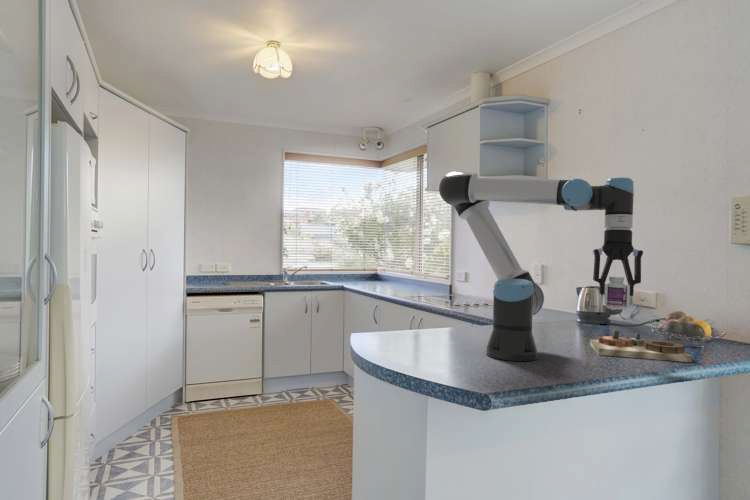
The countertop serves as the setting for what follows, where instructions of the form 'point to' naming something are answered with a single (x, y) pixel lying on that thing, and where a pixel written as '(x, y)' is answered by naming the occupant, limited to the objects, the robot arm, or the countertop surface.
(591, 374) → the countertop surface
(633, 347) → the gear board
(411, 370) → the countertop surface
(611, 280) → the pill bottle
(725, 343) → the countertop surface
